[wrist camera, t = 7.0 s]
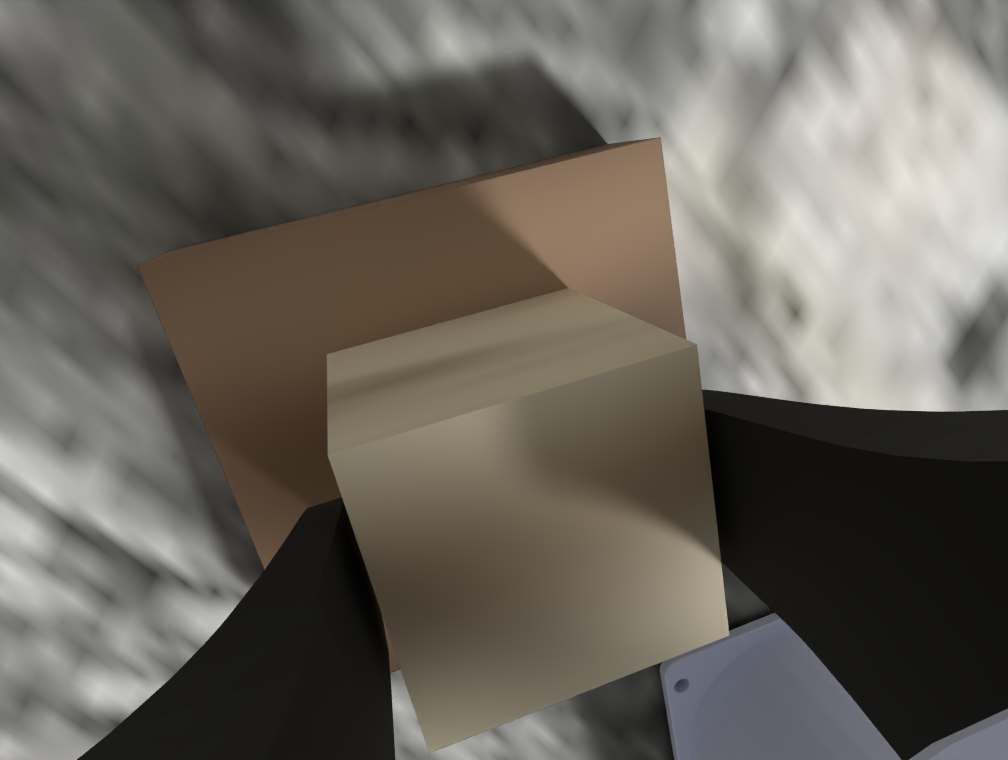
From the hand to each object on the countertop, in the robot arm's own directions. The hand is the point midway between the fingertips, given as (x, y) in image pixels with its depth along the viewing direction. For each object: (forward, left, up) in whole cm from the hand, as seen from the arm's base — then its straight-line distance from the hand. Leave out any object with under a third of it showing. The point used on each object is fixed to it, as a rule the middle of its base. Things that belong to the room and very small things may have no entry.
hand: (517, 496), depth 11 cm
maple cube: (0, 0, -3) cm, 3 cm away
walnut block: (0, 0, -6) cm, 6 cm away
